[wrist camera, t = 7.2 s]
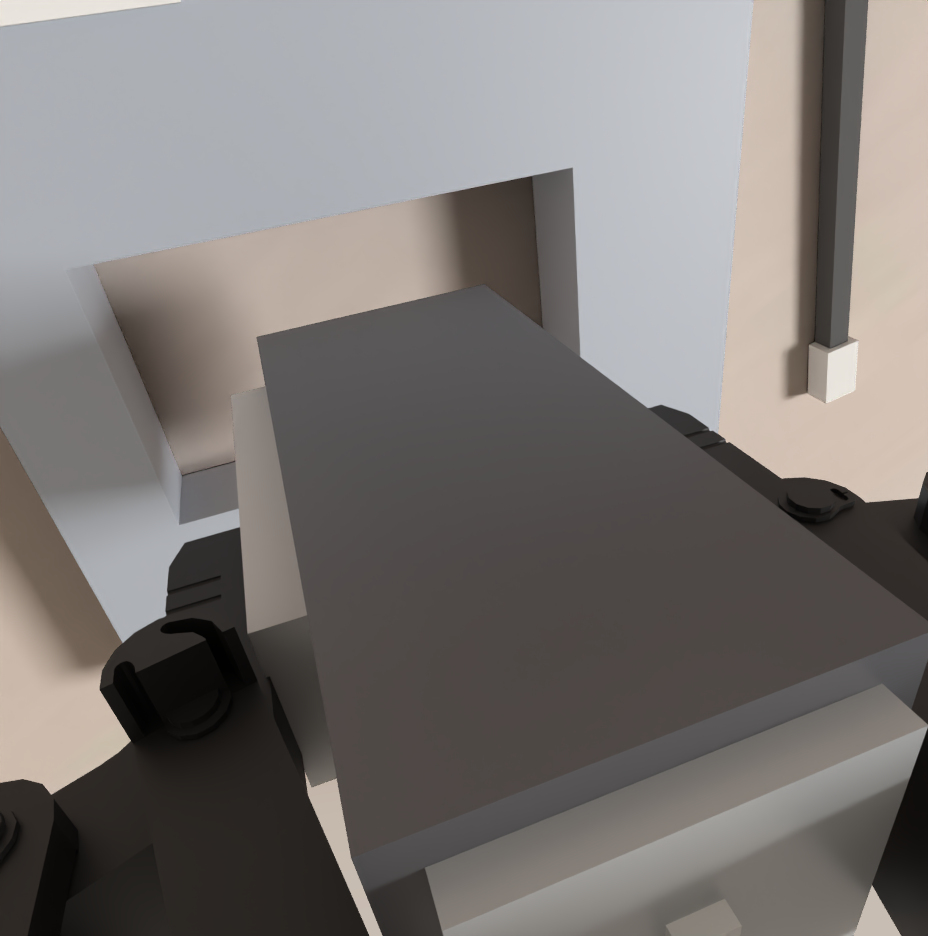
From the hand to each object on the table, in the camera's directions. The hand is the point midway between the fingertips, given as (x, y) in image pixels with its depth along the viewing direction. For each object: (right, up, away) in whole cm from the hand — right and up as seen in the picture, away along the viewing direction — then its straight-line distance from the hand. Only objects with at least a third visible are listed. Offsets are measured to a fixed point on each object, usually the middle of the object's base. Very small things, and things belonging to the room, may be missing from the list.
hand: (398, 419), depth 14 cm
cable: (+12, +9, +7) cm, 16 cm away
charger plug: (0, 0, 0) cm, 0 cm away
